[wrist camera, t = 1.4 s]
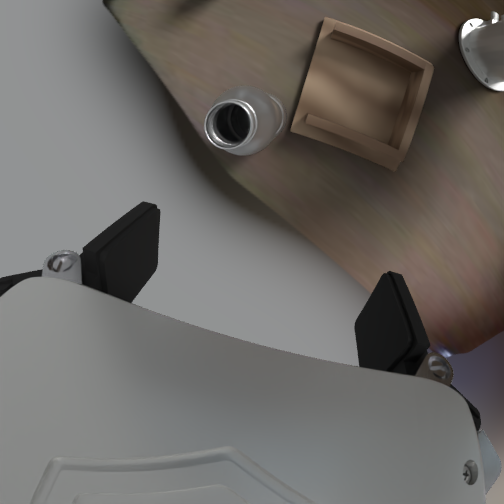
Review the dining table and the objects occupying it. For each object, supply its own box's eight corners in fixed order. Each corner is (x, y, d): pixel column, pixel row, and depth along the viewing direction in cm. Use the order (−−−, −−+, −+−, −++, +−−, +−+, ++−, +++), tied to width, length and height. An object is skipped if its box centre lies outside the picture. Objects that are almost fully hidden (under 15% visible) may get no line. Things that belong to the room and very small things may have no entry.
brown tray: (324, 19, 26) (327, 5, 21) (428, 64, 26) (447, 60, 21) (290, 130, 36) (288, 134, 31) (393, 170, 35) (407, 181, 30)
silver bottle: (236, 131, 37) (177, 158, 20) (248, 87, 33) (197, 73, 16) (279, 144, 37) (257, 181, 20) (293, 100, 33) (285, 93, 16)
